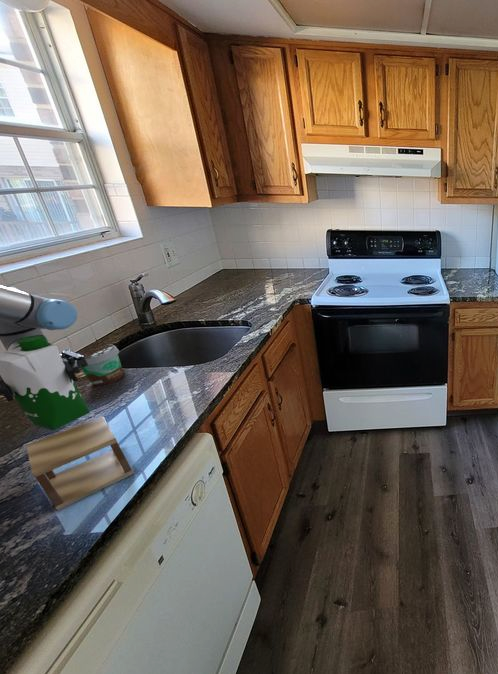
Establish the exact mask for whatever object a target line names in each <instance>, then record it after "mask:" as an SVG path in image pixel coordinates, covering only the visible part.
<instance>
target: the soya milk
mask: <svg viewBox="0 0 498 674" xmlns="http://www.w3.org/2000/svg"><path fill="white" fill-rule="evenodd" d="M44 335H45V334H44ZM44 335H34V336H29V337H26V338H23V339H20V340H19V341H18V343H19V345H20V347H18V348H15V349H11V350H8V351H6V350H5V351H4V352H1V353H0V376H1V377H2V379H3V380H4V382H5V383H6V384H7V386H8V388H9V389H10V391H11V392H12V394H13V398H14V400H15V401H16V402H17V404H18V406H19V407H20V408H21V411H23V413H24V414H25V415H26V417H27V418H28V419H29V420H30V421H31V422H32V423H33V425H34V426H38V427H41V428H43V429H47V430H50V431H56V430H58V429H60V428H61V427H63V426H65V425H67V424H69V423H72V422H73V421H76V420H77V419H79V418H81V417H84V416H85V415H88V414H89V413H90V410H89V408H88V406H87V404H86V402H85V400H84V398H83V396H82V393H81V392H80V390H79V389H78V387H77V385H76V382H75V381H74V382H73V380H72V378H71V376H70V375H69V373H68V371H67V369H66V367H65V365H64V363H63V361H62V359H61V356H60V354H61V352H60V350H59V348H58V346H57V345H55V344H53V343H52V344H51V343H50V342H49V341H48V342H49V343H48V342H47V340H48V339H47V340H46V338H47V337H46V336H45V337H46V338H45V337H44Z"/></svg>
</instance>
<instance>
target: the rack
mask: <svg viewBox="0 0 498 674" xmlns="http://www.w3.org/2000/svg"><path fill="white" fill-rule="evenodd" d="M109 446H110V448H111V449H110V450H108V451H105V452H103V453H101V454H99V455H96V456H94V457H92V458H90V459H87V460H85V461H83V462H81V463H78V464H76V465H74V466H71V467H68V468H67V469H64V470H62V471H60V472H57V473H55V471H54V470H56V469H58V468H60V467H63V466H65V465H68V464H70V463H73V462H75V461H77V460H79V459H82V458H84V457H86V456H90V455H91V454H93V453H95V452H98V451H101V450H103V449H105V448H108V447H109ZM25 448H26V452H27V456H28V457H27V458H28V462H29V467H30V470H31V474H32V476H33V477H34V478H35V479H36V481H37V482H38V483H39V485H40V486H41V488H42V490H43V491H44V492H45V494H46V495H47V496H48V498H49V499H50V501H51V503H52V504H53V505H54V507H55V509H56V511H60V510H62V509H64V508H66V507H68V506H70V505H72V504H75V503H76V502H79V501H80V500H82V499H85V498H87V497H89V496H91V495H93V494H95V493H97V492H99V491H101V490H103V489H105V488H108V487H109V486H111V485H113V484H115V483H118V482H119V481H121V480H123V479H126V478H128V477H130V476H132V475H134V473H135V472H134V470H133V468H132V467H131V464H130V463H129V462H128V460H127V458H126V456H125V454H124V452H123V450H122V448H121V447H120V445H119V443H118V440H117V438H116V436H115V435H114V433H113V431H112V429H111V428H110V425H109V424H108V422H107V421H106V419H105V417H104V416H103V415H101V416H100V417H97V418H94V419H91V420H88V421H86V422H83V423H81V424H78V425H76V426H73V427H71V428H68V429H64V430H63V431H60V432H57V433H54V434H52V435H49V436H47V437H44V438H41V439H39V440H36V441H34V442H31V443H28V444H25Z"/></svg>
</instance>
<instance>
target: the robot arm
mask: <svg viewBox="0 0 498 674" xmlns="http://www.w3.org/2000/svg"><path fill="white" fill-rule="evenodd" d="M77 318H78V312H77V309H76V307H75V306H74V304H72V303H70V302H69V301H67V300H62V299H58V298H47V297H43V296H41V295H37V294H34V293H33V294H32V293H28V292H26V291H22V290H20V289H19V288H17V287H13V286H10V287H8V286H4V285H1V284H0V342H1V344H2V346H3V347H4V348H5V351H8V350H11V349H15V348H18V347H20V345H19V343H18V341H19V340H20V339H23V338H26V337H29V336H34V335H44V337H45V338H46V340H47V342H48V343H50V342H49V339H48V338H47V336H46V335H45V334H44V332H43V331H42V330H49V331H58V330H59V331H60V330H65V329H68V328H70V327H72V326H73V325H75V322H76V321H77ZM60 356H61V359H62V361H63V363H64V365H65V367H66V369H67V371H68V373H69V375H70V376H71V378H72V380H73V382H74V383H75V382H77V381H78V378H77V376H76V375H75V374H77V373H80V372H81V367H86V366H88V363H87V361H86V357H85V356H84V355H82V354H79V353H78V352H77V353H76V352H74V351H72V350H71V348H65V349H63V351H61V352H60ZM80 366H81V367H80ZM0 396H4V398H5V399H6V401H7V402H9V403H10V402H12V401H14V400H15V398H14V396H13V394H12V392H11V391H10V389H9V388H8V386H7V384H6V383H5V382H4V380H3V379H2V377H1V376H0Z"/></svg>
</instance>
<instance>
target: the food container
mask: <svg viewBox="0 0 498 674" xmlns="http://www.w3.org/2000/svg"><path fill="white" fill-rule="evenodd" d="M119 353H120V350H119V349H118V347H117V346H116V345H114V344H113V343H106V347H105V348H103V349H101V350H98V351H94V352H93V353H91V354H89V355H88V356H87V357H85V359H86V361H87V363H88V366H86V367H81V366H80V367H79V368H80V370H82V372H83V374H84V375H85V377H86V378H87V379H88V381H89V382H90V384H91V385H92V387H98V386H104V385H108V384H110V383H113V382H115V381H118V380H120V379H122V378H123V377H124V375H125V372H124V369H123V366H122V362H121V360H120V357H119Z"/></svg>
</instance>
